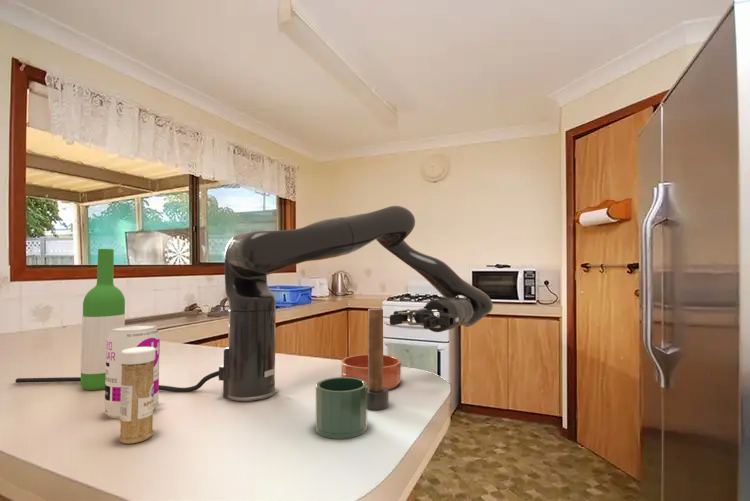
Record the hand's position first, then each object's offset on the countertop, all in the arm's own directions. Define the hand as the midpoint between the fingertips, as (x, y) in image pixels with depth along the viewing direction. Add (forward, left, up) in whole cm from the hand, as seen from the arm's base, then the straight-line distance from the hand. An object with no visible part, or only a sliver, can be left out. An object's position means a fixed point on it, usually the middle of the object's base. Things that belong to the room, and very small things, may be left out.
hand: (407, 321), depth 83 cm
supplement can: (-48, -19, -15) cm, 54 cm away
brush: (-5, -10, -14) cm, 18 cm away
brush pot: (-9, -21, -14) cm, 27 cm away
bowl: (-8, +4, -14) cm, 17 cm away
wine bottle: (-66, -6, -15) cm, 68 cm away
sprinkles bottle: (-39, -29, -15) cm, 51 cm away
